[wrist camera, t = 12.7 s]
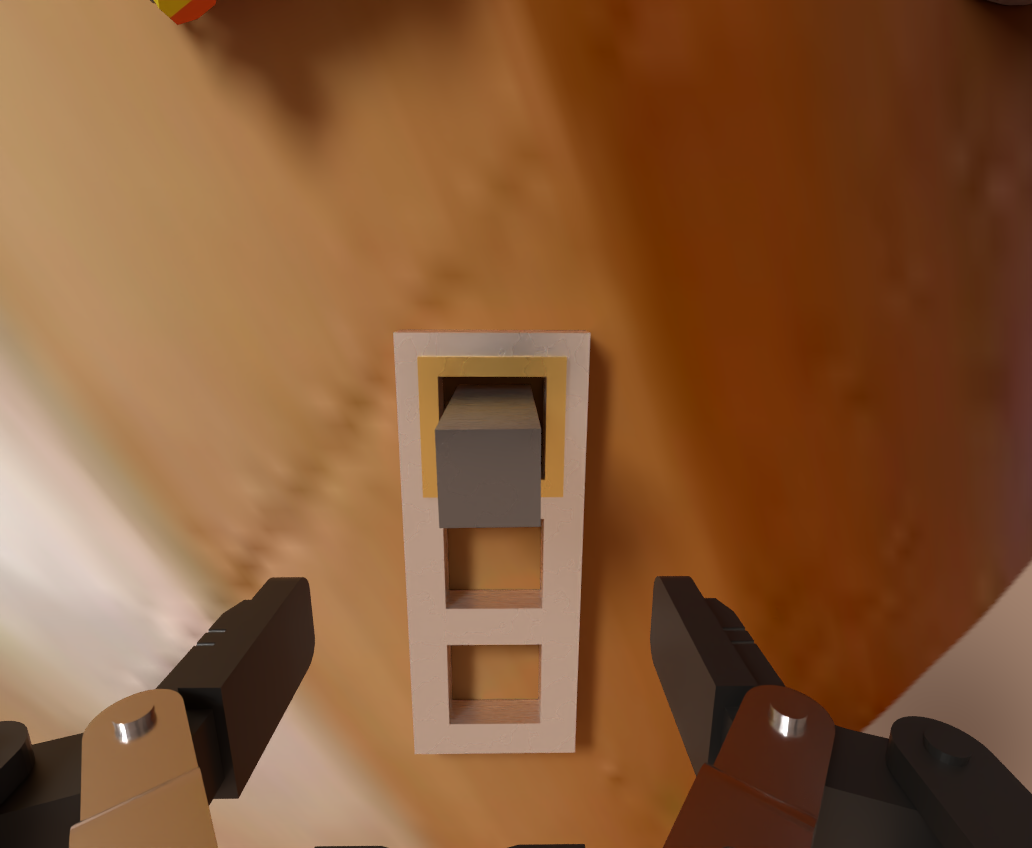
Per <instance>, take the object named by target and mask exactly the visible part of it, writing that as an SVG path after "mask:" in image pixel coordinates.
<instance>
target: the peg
mask: <svg viewBox="0 0 1032 848" xmlns="http://www.w3.org/2000/svg"><path fill="white" fill-rule="evenodd" d="M435 447H436V469H437V490H438V512H439V528H486V527H541V426H540V422H539V418H538V414H537V410H536V406H535V402H534V398H533V394H532V390H531V385H530V384H475V385H458V386H457V388H456V390H455V392H454V394H453V396H452V398H451V400H450V402H449V404H448V406H447V407H446V409H445V411H444V413H443V415H442V417H441V419H440V421H439V423H438V425H437V426H436V428H435Z"/></svg>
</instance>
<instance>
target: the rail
mask: <svg viewBox="0 0 1032 848" xmlns="http://www.w3.org/2000/svg"><path fill="white" fill-rule="evenodd" d="M393 335H394V354H395V374H396V394H397V413H398V433H399V452H400V472H401V492H402V511H403V531H404V550H405V570H406V590H407V609H408V629H409V648H410V668H411V687H412V707H413V727H414V746H415V754H471V753H569V752H575V734H576V708H577V681H578V654H579V627H580V600H581V574H582V547H583V520H584V493H585V466H586V439H587V413H588V386H589V359H590V333H589V332H587V331H585V330H399V331H396V332H393ZM443 377H544V398H543V458H542V466H541V577H540V590H449V563H448V529H447V528H439V512H438V490H437V469H436V447H435V428H436V426H437V425H438V423H439V421H440V419H441V417H442V415H443V413H444V393H443ZM531 644H539V697H538V699H524V700H453V699H452V665H451V645H531Z"/></svg>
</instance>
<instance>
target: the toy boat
mask: <svg viewBox="0 0 1032 848" xmlns="http://www.w3.org/2000/svg"><path fill="white" fill-rule="evenodd" d="M150 1H151V2H152V3H155V4H157V6H158V7H159V9H160V10H161V11H163V12H164V13H165V14H166V15H167V16H168V17H169V18H170V19H171V20H173V21H174V22H175V23H176V24H177V25H179V24H182V23H186V22H189V21H192V20H196V19H198V18H199V17H201V16H202V15H203V14H204V13H206V12H207V11H208V10H209V9H211V8H212V7H213V6H214V5H215V4H216V0H150Z"/></svg>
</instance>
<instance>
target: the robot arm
mask: <svg viewBox="0 0 1032 848" xmlns="http://www.w3.org/2000/svg"><path fill="white" fill-rule="evenodd" d="M988 1H992V2H995V3H999V4H1003V5H1027V4H1032V0H988ZM650 643H651V653H652V659H653V663H654V666H655V669H656V671H657V674H658V677H659V679H660V682H661V684H662V687H663V690H664V692H665V695H666V698H667V700H668V703H669V706H670V708H671V711H672V713H673V716H674V719H675V721H676V724H677V727H678V729H679V732H680V735H681V737H682V740H683V742H684V745H685V748H686V750H687V753H688V756H689V758H690V761H691V764H692V766H693V769H694V771H695V774H696V779H695V781H694V783H693V785H692V787H691V789H690V791H689V794H688V796H687V798H686V800H685V802H684V804H683V806H682V808H681V810H680V813H679V815H678V817H677V819H676V821H675V823H674V825H673V827H672V829H671V832H670V834H669V836H668V838H667V840H666V842H665V844H664V846H663V848H1032V794H1031V793H1030V792H1029V791H1028V790H1027V789H1026V788H1025V787H1024V786H1023V785H1022V784H1021V782H1019V780H1018V779H1017V778H1015V776H1014V775H1013V774H1012V773H1011V772H1010V771H1009V770H1008V769H1007V768H1006V767H1005V766H1004V765H1003V764H1002V763H1001V762H1000V761H999V760H998V759H997V758H996V757H995V756H994V755H993V753H991V752H990V751H989V750H988V749H987V748H986V747H985V746H984V745H983V744H981V743H980V742H979V741H977V740H976V739H974V738H973V737H971V736H970V735H968V734H966V733H965V732H963V731H961V730H959V729H957V728H955V727H953V726H951V725H949V724H946V723H943V722H941V721H937V720H934V719H930V718H925V717H917V716H908V717H903V718H900V719H898V720H897V721H895V722H894V723H893V725H892V727H891V732H890V737H889V739H887V738H883V737H879V736H874V735H870V734H866V733H862V732H857V731H853V730H849V729H845V728H842V727H839V726H836V725H834V723H833V720H832V718H831V717H830V715H829V714H828V713H827V711H826V710H825V709H824V708H823V707H822V706H821V705H819V704H818V703H817V702H816V701H814V700H813V699H811V698H810V697H808V696H806V695H805V694H803V693H801V692H798V691H796V690H793V689H790V688H787V687H785V685H784V684H783V682H782V681H781V679H780V678H779V676H778V675H777V674H776V672H775V671H774V669H773V668H772V666H771V665H770V663H769V662H768V661H767V659H766V658H765V656H764V655H763V653H762V652H761V650H760V649H759V648H758V646H757V645H756V644H754V640H753V639H752V637H751V636H750V634H749V633H748V632H747V631H745V627H744V626H743V624H742V623H741V621H740V620H739V619H738V617H737V616H736V614H735V613H734V612H733V611H732V610H731V609H729V608H728V607H727V606H725V605H724V604H722V603H721V602H720V601H718V600H717V599H716V598H704V597H703V596H702V594H701V593H700V591H699V589H698V588H697V586H696V585H695V583H694V581H693V580H692V578H691V577H689V576H657V577H656V579H655V582H654V590H653V605H652V619H651V634H650ZM314 646H315V634H314V625H313V616H312V606H311V597H310V588H309V583H308V581H307V579H306V578H304V577H281V578H270V579H269V580H268V581H267V582H266V583H265V584H264V585H263V587H262V588H261V589H260V590H259V591H258V593H257V594H256V595H255V596H254V597H253V599H252V600H243V601H242V602H240V603H239V604H237V605H236V606H234V607H232V608H231V609H229V610H228V611H226V612H225V613H223V614H222V615H221V616H220V617H219V619H218V620H217V621H216V622H215V623H214V624H213V625H212V626H211V627H210V629H209V632H208V633H205V634H204V635H203V636H202V638H201V639H200V640H199V641H198V642H197V646H194V647H193V648H192V649H191V650H190V651H189V652H188V653H187V654H186V655H185V657H184V658H183V659H182V660H181V661H180V662H179V663H178V664H177V666H176V667H175V668H174V669H173V670H172V671H171V672H170V673H169V675H168V676H167V677H166V678H165V679H164V680H163V681H162V682H161V684H160V685H159V686H158V687H157V688H156V689H154V690H148V691H143V692H140V693H137V694H133V695H131V696H128V697H126V698H124V699H122V700H120V701H118V702H116V703H114V704H113V705H111V706H109V707H108V708H106V709H105V710H104V711H102V712H101V713H100V714H99V715H97V716H96V717H95V718H94V719H93V720H92V721H91V722H90V723H89V725H88V726H87V728H86V729H85V731H84V733H81V734H77V735H72V736H68V737H64V738H60V739H55V740H51V741H47V742H42V743H38V744H34V745H32V744H31V741H30V737H29V733H28V730H27V727H26V726H25V725H24V724H22V723H20V722H16V721H1V722H0V848H218V846H217V841H216V837H215V832H214V828H213V824H212V819H211V815H210V810H209V805H210V803H211V802H212V800H213V799H238V798H239V797H240V795H241V793H242V791H243V789H244V787H245V785H246V783H247V782H248V780H249V778H250V776H251V774H252V772H253V770H254V769H255V767H256V765H257V763H258V761H259V759H260V757H261V756H262V754H263V752H264V750H265V748H266V746H267V744H268V743H269V741H270V739H271V737H272V735H273V733H274V731H275V730H276V728H277V726H278V724H279V722H280V720H281V718H282V717H283V715H284V713H285V711H286V709H287V707H288V705H289V703H290V702H291V700H292V698H293V696H294V694H295V692H296V690H297V689H298V687H299V685H300V683H301V681H302V679H303V677H304V676H305V674H306V672H307V670H308V668H309V666H310V664H311V661H312V657H313V653H314ZM315 848H387V847H383V846H323V847H315ZM509 848H585V844H550V845H516V846H512V847H509Z"/></svg>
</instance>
